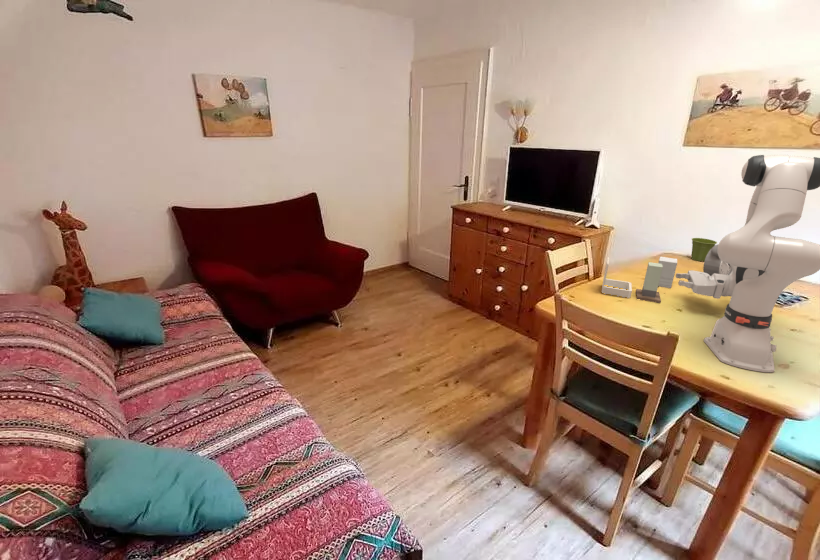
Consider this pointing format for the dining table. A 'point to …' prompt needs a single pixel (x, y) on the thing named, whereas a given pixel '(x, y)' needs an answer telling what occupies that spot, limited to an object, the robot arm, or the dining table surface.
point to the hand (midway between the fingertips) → (677, 278)
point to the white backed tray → (616, 284)
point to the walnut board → (651, 299)
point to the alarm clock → (715, 264)
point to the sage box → (652, 279)
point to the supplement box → (667, 271)
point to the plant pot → (701, 248)
